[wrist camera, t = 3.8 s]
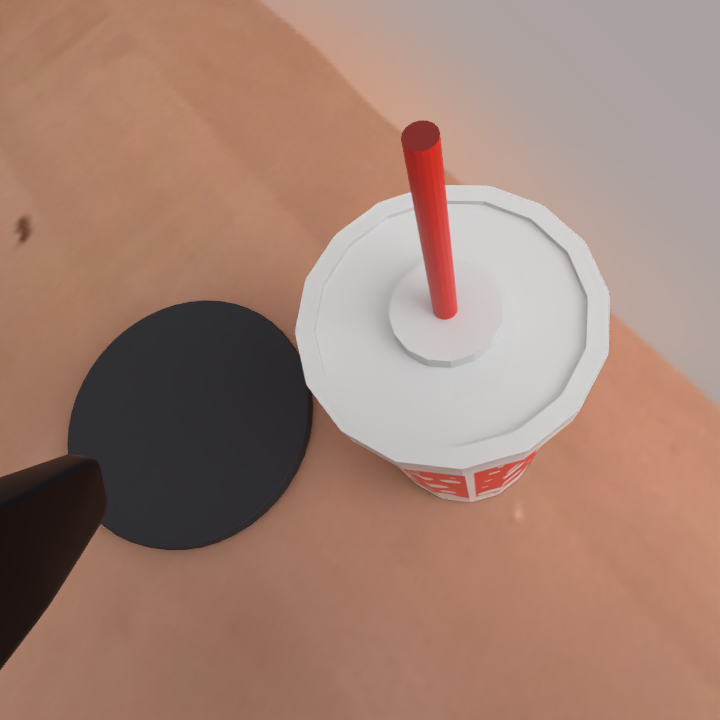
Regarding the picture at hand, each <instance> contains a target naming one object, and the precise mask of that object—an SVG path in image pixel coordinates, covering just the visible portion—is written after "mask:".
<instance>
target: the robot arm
mask: <svg viewBox="0 0 720 720" xmlns="http://www.w3.org/2000/svg"><path fill="white" fill-rule="evenodd" d="M106 511H107V497H106V492H105V487H104V483H103V478H102V473H101V468H100V465H99V463H98V462H97V460H96V459H94V458H92V457H87V456H81V455H76V454H68V455H65V456H62V457H59V458H56V459H53V460H50V461H47V462H44V463H41V464H38V465H35V466H33V467H30V468H27V469H24V470H21V471H18V472H15V473H12V474H9V475H6V476H3V477H0V670H1V669H2V667H3V666H4V665H5V663H6V662H7V661H8V659H9V658H10V657H11V656H12V654H13V653H14V652H15V650H16V649H17V648H18V646H19V645H20V644H21V642H22V641H23V640H24V638H25V637H26V636H27V634H28V633H29V632H30V631H31V629H32V628H33V627H34V625H35V624H36V623H37V621H38V620H39V619H40V617H41V616H42V614H43V613H44V612H45V610H46V609H47V608H48V606H49V605H50V603H51V602H52V600H53V599H54V597H55V596H56V594H57V593H58V591H59V589H60V588H61V586H62V585H63V583H64V581H65V580H66V578H67V577H68V575H69V573H70V572H71V570H72V569H73V567H74V565H75V564H76V562H77V561H78V559H79V558H80V556H81V554H82V553H83V551H84V550H85V548H86V546H87V545H88V543H89V542H90V540H91V538H92V537H93V535H94V534H95V532H96V530H97V529H98V527H99V526H100V524H101V522H102V521H103V519H104V517H105V514H106Z"/></svg>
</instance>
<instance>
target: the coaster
mask: <svg viewBox="0 0 720 720" xmlns="http://www.w3.org/2000/svg"><path fill="white" fill-rule="evenodd" d="M312 407H313V404H312V394H311V390H310V389H309V388H308V386H307V385H306V381H305V376H304V372H303V367H302V363H301V358H300V356H299V355H298V353H297V351H296V349H295V348H294V346H293V345H292V344H291V342H290V341H289V340H288V339H287V337H286V336H285V335H284V334H283V332H282V331H281V330H280V329H279V328H277V327H276V326H275V325H274V324H273V323H272V322H271V321H269V320H268V319H266V318H265V317H263V316H262V315H260V314H259V313H257V312H255V311H252V310H250V309H248V308H246V307H243V306H239V305H236V304H233V303H227V302H221V301H195V302H187V303H183V304H178V305H174V306H171V307H168V308H165V309H162V310H160V311H158V312H155V313H153V314H151V315H149V316H147V317H145V318H144V319H142V320H140V321H139V322H137V323H135V324H134V325H132V326H131V327H130V328H128V329H127V330H126V331H124V332H123V333H122V334H121V335H120V336H119V337H117V338H116V339H115V340H114V341H113V342H112V343H111V344H110V345H109V346H108V347H107V349H106V350H105V351H104V352H103V353H102V354H101V355H100V357H99V358H98V359H97V361H96V362H95V364H94V365H93V366H92V368H91V369H90V371H89V373H88V375H87V376H86V378H85V380H84V382H83V383H82V386H81V388H80V390H79V393H78V395H77V397H76V400H75V404H74V407H73V410H72V414H71V419H70V425H69V432H68V454H76V455H81V456H87V457H92V458H94V459H96V460H97V462H98V463H99V465H100V468H101V473H102V478H103V483H104V487H105V492H106V497H107V511H106V514H105V517H104V519H103V521H102V522H101V524H102V525H103V526H104V527H106V528H107V529H109V530H110V531H112V532H113V533H114V534H116V535H117V536H119V537H122V538H124V539H126V540H128V541H130V542H133V543H136V544H139V545H143V546H146V547H152V548H159V549H166V550H186V549H193V548H199V547H204V546H207V545H210V544H214V543H217V542H220V541H222V540H224V539H226V538H229V537H231V536H233V535H235V534H237V533H238V532H240V531H242V530H243V529H245V528H246V527H248V526H250V525H251V524H252V523H253V522H255V521H256V520H257V519H258V518H260V517H261V516H262V515H263V514H265V513H266V512H267V511H268V509H269V508H270V507H271V506H272V505H273V504H274V503H275V502H276V501H277V500H278V499H279V497H280V496H281V495H282V494H283V492H284V491H285V490H286V488H287V487H288V486H289V484H290V482H291V480H292V479H293V477H294V475H295V474H296V472H297V470H298V468H299V466H300V463H301V461H302V459H303V456H304V454H305V451H306V447H307V444H308V440H309V436H310V430H311V424H312Z"/></svg>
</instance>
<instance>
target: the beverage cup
mask: <svg viewBox="0 0 720 720" xmlns="http://www.w3.org/2000/svg"><path fill="white" fill-rule="evenodd" d="M401 141H402V147H403V152H404V157H405V163H406V168H407V174H408V179H409V184H410V190H411V192H410V193H406V194H403V195H400V196H397V197H394V198H391V199H388V200H385V201H382V202H379V203H378V204H376V205H375V206H373V207H372V208H371V209H369V210H368V211H367V212H365V213H364V214H363V215H361V216H360V217H359V218H357V219H356V220H355V221H353V222H352V223H350V224H349V225H348V226H346V227H345V228H344V229H342V230H341V231H340V232H338V233H337V234H336V235H335V236H334V237H333V239H332V240H331V242H330V243H329V245H328V246H327V248H326V249H325V251H324V252H323V254H322V255H321V257H320V258H319V260H318V261H317V263H316V264H315V266H314V267H313V269H312V270H311V272H310V273H309V275H308V277H307V278H306V280H305V284H304V289H303V294H302V299H301V304H300V309H299V314H298V318H297V323H296V328H295V335H296V340H297V344H298V349H299V353H300V358H301V363H302V367H303V372H304V376H305V381H306V385H307V386H308V388H309V389H310V390H311V392H312V393H313V394H314V396H315V397H316V398H317V400H318V401H319V402H320V404H321V405H322V406H323V408H324V409H325V410H326V412H327V413H328V414H329V416H330V417H331V418H332V420H333V421H334V422H335V424H336V425H337V426H338V428H339V429H340V430H341V432H342V433H343V434H344V435H345V436H347V437H349V439H350V440H351V441H353V442H355V443H357V444H358V445H360V446H362V447H364V448H365V449H367V450H369V451H371V452H373V453H374V454H376V455H378V456H380V457H381V458H383V459H385V460H387V461H388V462H390V463H392V464H394V465H396V466H397V467H398V468H399V469H400V470H402V471H403V472H404V473H405V474H406V475H407V476H408V477H409V478H410V479H411V480H412V481H413V482H415V483H416V484H417V485H418V486H420V487H422V488H424V489H425V490H427V491H429V492H431V493H432V494H434V495H436V496H438V497H439V498H441V499H447V500H455V501H463V502H474V501H478V500H481V499H485V498H488V497H492V496H496V495H499V494H500V493H501V492H502V491H504V490H505V489H506V488H507V487H509V486H510V485H511V484H512V483H514V482H515V481H516V480H517V479H519V478H520V477H521V476H522V474H523V472H524V471H525V469H526V468H527V466H528V465H529V463H530V462H531V460H532V459H533V457H534V455H535V454H536V452H537V451H538V449H539V448H540V446H542V445H543V444H544V443H545V442H547V441H548V440H549V439H550V438H552V437H553V436H554V435H555V434H557V433H558V432H559V431H560V430H562V429H563V428H564V427H565V426H567V425H568V424H569V423H570V422H572V421H573V420H574V418H575V416H576V415H577V414H578V413H579V411H580V409H581V407H582V405H583V403H584V401H585V399H586V397H587V395H588V393H589V391H590V389H591V387H592V385H593V383H594V381H595V380H596V378H597V376H598V374H599V372H600V370H601V368H602V366H603V364H604V362H605V360H606V358H607V356H608V354H609V312H610V294H609V292H608V289H607V287H606V285H605V283H604V281H603V278H602V277H601V274H600V272H599V270H598V268H597V265H596V263H595V261H594V259H593V257H592V255H591V253H590V250H589V248H588V246H587V244H586V242H584V241H583V240H582V239H581V238H580V237H579V236H578V235H577V234H576V233H574V232H573V231H572V230H571V229H570V228H569V227H568V226H566V225H565V224H564V223H563V222H562V221H561V220H560V219H558V218H557V217H556V216H555V215H554V214H553V213H551V211H549V210H548V209H547V208H546V207H545V206H544V205H542V204H538V203H536V202H533V201H531V200H528V199H525V198H522V197H519V196H517V195H514V194H511V193H508V192H506V191H503V190H500V189H497V188H494V187H492V186H473V185H445V178H444V168H443V158H442V149H441V139H440V132H439V129H438V127H437V126H436V125H435V124H434V123H432V122H429V121H417V122H414V123H412V124H410V125H409V126H407V127H406V128H405V130H404V131H403V133H402V137H401Z"/></svg>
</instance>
